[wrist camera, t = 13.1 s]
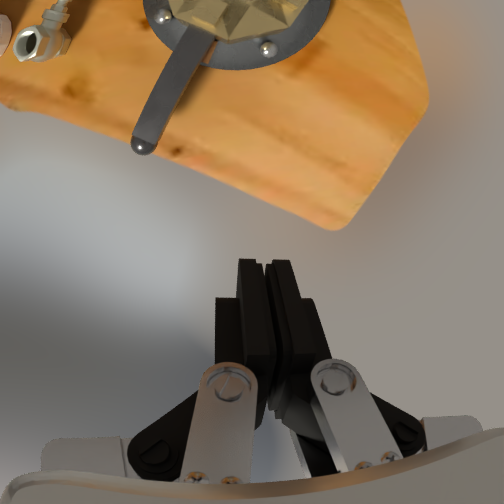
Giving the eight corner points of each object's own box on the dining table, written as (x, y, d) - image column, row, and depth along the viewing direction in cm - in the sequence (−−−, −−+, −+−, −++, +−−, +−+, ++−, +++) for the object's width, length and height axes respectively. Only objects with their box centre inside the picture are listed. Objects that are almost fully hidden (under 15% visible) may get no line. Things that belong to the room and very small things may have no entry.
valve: (72, 67, 26) (122, -28, 20) (42, 71, 20) (101, -45, 15) (31, 54, 23) (76, -38, 18) (-3, 57, 18) (49, -52, 13)
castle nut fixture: (215, -78, 17) (213, -107, 11) (323, -27, 21) (346, -46, 15) (94, 125, 27) (66, 141, 22) (196, 171, 31) (190, 196, 26)
